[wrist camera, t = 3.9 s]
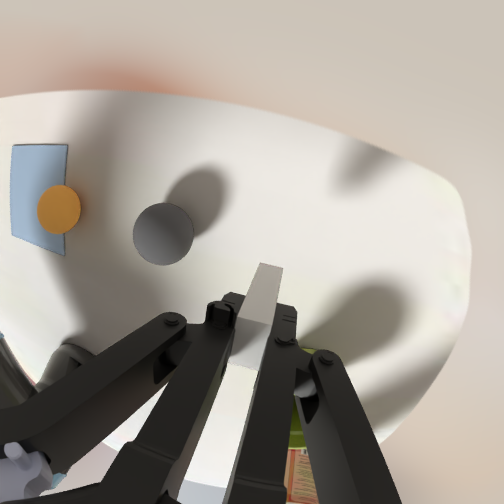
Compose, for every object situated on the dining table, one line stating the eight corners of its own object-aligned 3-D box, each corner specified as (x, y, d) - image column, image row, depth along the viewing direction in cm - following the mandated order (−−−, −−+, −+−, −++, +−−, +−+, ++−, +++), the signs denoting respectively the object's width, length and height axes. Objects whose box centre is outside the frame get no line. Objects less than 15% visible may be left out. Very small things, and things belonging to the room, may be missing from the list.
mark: (67, 145, 26) (66, 145, 25) (64, 255, 30) (63, 255, 30) (13, 145, 27) (12, 145, 27) (12, 234, 31) (11, 235, 31)
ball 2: (210, 244, 26) (190, 263, 21) (164, 260, 28) (138, 281, 23) (188, 190, 25) (162, 198, 20) (143, 211, 27) (112, 223, 21)
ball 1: (96, 217, 28) (63, 229, 23) (69, 233, 29) (38, 246, 24) (80, 174, 26) (46, 179, 21) (55, 194, 28) (23, 202, 23)
